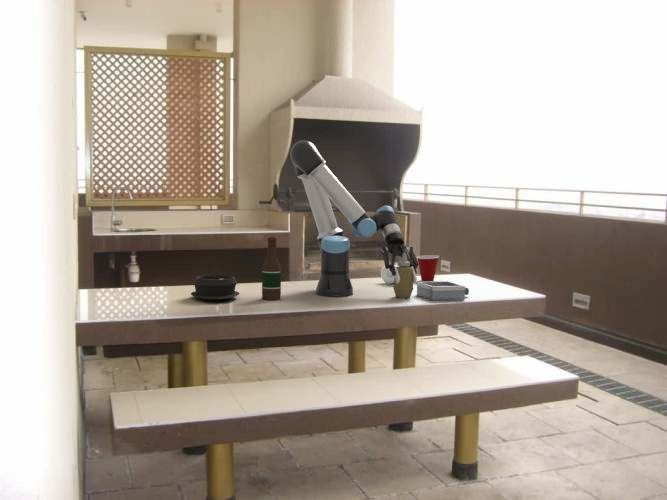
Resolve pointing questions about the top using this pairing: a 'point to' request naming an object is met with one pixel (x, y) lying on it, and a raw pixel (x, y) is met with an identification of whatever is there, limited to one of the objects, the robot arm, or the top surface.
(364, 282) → the top surface
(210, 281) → the casserole
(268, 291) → the beer bottle
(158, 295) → the top surface
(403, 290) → the squeeze bottle
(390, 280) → the white plush toy
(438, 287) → the box
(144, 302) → the top surface
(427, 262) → the plastic cup
